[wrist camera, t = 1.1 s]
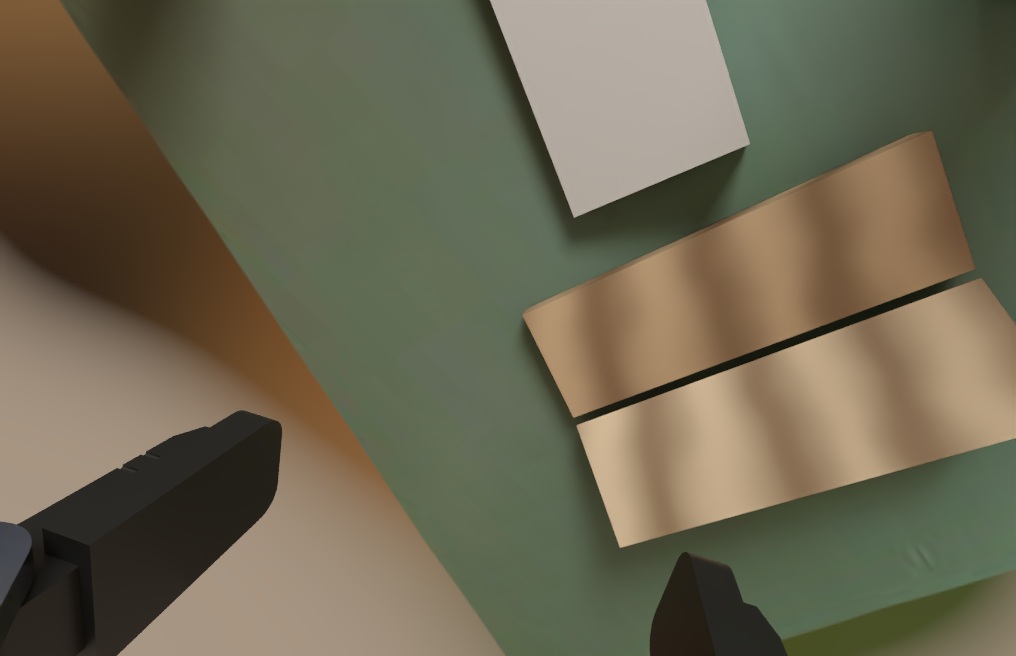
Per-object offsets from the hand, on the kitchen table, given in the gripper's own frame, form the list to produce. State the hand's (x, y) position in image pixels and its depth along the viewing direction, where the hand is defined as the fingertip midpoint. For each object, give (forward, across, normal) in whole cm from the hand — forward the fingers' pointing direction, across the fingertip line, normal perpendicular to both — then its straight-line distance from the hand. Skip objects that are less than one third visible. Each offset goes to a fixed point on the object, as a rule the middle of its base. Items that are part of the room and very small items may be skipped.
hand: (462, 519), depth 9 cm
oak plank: (+22, -16, +4) cm, 27 cm away
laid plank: (+24, -10, -2) cm, 26 cm away
